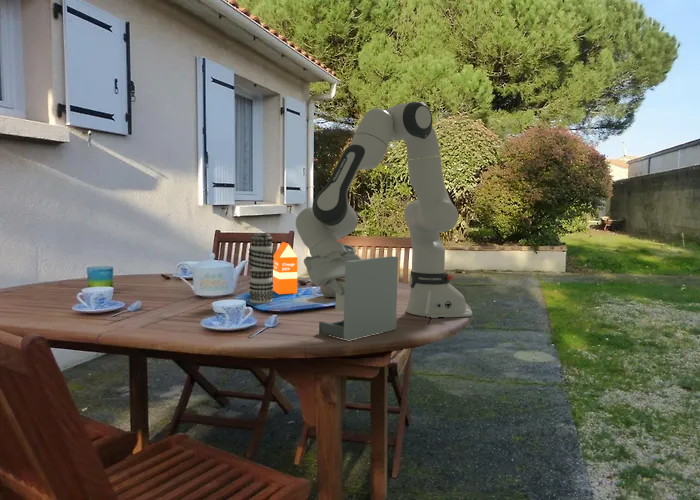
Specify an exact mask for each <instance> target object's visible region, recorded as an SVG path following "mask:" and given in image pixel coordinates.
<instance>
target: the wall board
mask: <svg viewBox="0 0 700 500" xmlns="http://www.w3.org/2000/svg"><path fill="white" fill-rule="evenodd" d="M398 269H399V256H393V255H392V256H385V257H373V258H372V257H371V258H363V259H362V258H361V260H351V261H345V298H344V311H343V320H339V321H333V322H325V321H319V322H318V323H319V324H318V334H319V333H322V334H321V335H323V334H326V335H331V336H335V337H339V338H343V339H347V340H351V339H355V338H359V337H363V336H367V335H372V334H376V333H381V332H386V331H391V330H395V329H396V330H397V304H398V300H397V299H398V273H399V272H398V271H399V270H398ZM396 330H395V331H396ZM391 332H392V331H391ZM326 335H325V336H326Z"/></svg>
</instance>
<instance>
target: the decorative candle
mask: <svg viewBox="0 0 700 500" xmlns="http://www.w3.org/2000/svg"><path fill="white" fill-rule="evenodd" d="M250 240H251V241H250V242H251V243H250V248H248V251H249V252H248V255H249V256H250V257H249V258H248V260H249V262H248V264H249V266H250V267H249V270H250V282H249V289H250V291H249V294H250V295H249V296H248V298H249V302H250V303H252V304H269V303H273V298H274V296H273V294H274V291H273V269H274V268H273V265H274V263H273V259H274V258H273V255H274V254H275V253H274V252H273V249H274V248H273V245H272V244H273V237H272V235H271V234H270V233H268V232H256V233H253V235H252V236H251V237H250Z"/></svg>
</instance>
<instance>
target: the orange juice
mask: <svg viewBox="0 0 700 500" xmlns="http://www.w3.org/2000/svg"><path fill="white" fill-rule="evenodd" d="M272 257H273V258H274V259H273V260H272V263H274V265H272V267H273V268H274V269H273V270H272V282H273V284H272V287H273V289H272V291H273V292H275V293H276V294H278V295H286V294H287V295H288V294H298V256H297V254H296V252H295V251H294V250H293V247H291V245H290V244H289V243H288V242H286V241H285V242H284V241H282V242H281V244H280V245H279V247H278V248H277V250H276V251H275V253H274V255H273V256H272Z"/></svg>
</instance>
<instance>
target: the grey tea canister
mask: <svg viewBox="0 0 700 500" xmlns="http://www.w3.org/2000/svg"><path fill="white" fill-rule="evenodd" d="M336 281H337V284H338V285H339V286H340V287H343V288H344V290H345V278H337V279H336ZM344 298H345V293H344V295H340V296H339V295H338V294H337V292H336V298H335V307H334V308H335V310H338V311H341V312H344Z"/></svg>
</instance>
